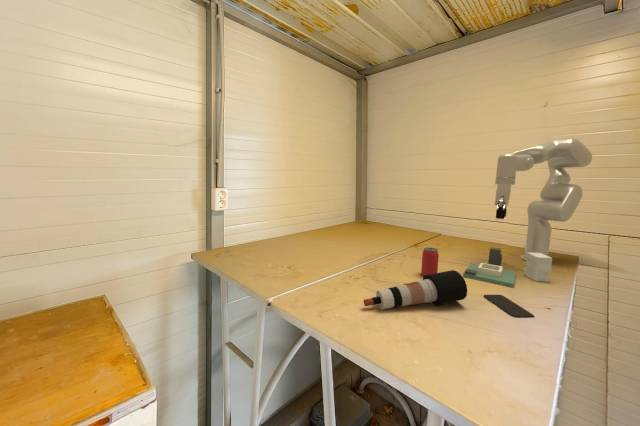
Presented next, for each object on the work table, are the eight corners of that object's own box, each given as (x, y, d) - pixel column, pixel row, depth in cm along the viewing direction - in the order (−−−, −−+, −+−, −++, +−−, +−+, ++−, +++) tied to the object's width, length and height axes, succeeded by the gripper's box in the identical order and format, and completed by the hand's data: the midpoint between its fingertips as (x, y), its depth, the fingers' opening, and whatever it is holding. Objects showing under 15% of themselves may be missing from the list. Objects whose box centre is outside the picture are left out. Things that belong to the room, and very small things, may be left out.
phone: (512, 316, 81) (481, 294, 96) (512, 318, 82) (481, 296, 96) (536, 316, 82) (501, 294, 97) (535, 318, 82) (501, 296, 97)
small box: (549, 282, 109) (553, 258, 108) (534, 281, 110) (537, 257, 109) (538, 275, 117) (541, 252, 116) (524, 274, 118) (526, 251, 117)
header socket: (480, 267, 122) (481, 262, 122) (502, 272, 117) (502, 266, 116) (477, 272, 116) (478, 267, 115) (500, 277, 110) (501, 271, 110)
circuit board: (470, 266, 129) (470, 261, 129) (515, 274, 118) (516, 269, 117) (462, 276, 115) (463, 271, 115) (513, 287, 104) (514, 281, 104)
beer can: (437, 274, 118) (439, 248, 116) (436, 279, 112) (438, 251, 110) (421, 271, 121) (423, 246, 119) (420, 276, 115) (422, 250, 113)
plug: (489, 264, 132) (490, 247, 131) (501, 266, 129) (503, 248, 127) (488, 266, 128) (489, 248, 127) (500, 268, 125) (502, 250, 124)
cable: (363, 318, 89) (357, 288, 92) (452, 300, 95) (443, 272, 98) (373, 320, 79) (365, 285, 83) (471, 299, 85) (460, 268, 89)
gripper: (497, 181, 132) (493, 215, 134) (493, 181, 118) (489, 218, 120) (515, 181, 127) (511, 216, 129) (513, 181, 114) (509, 220, 116)
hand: (500, 217), depth 125 cm, fingers open, 9 cm apart
